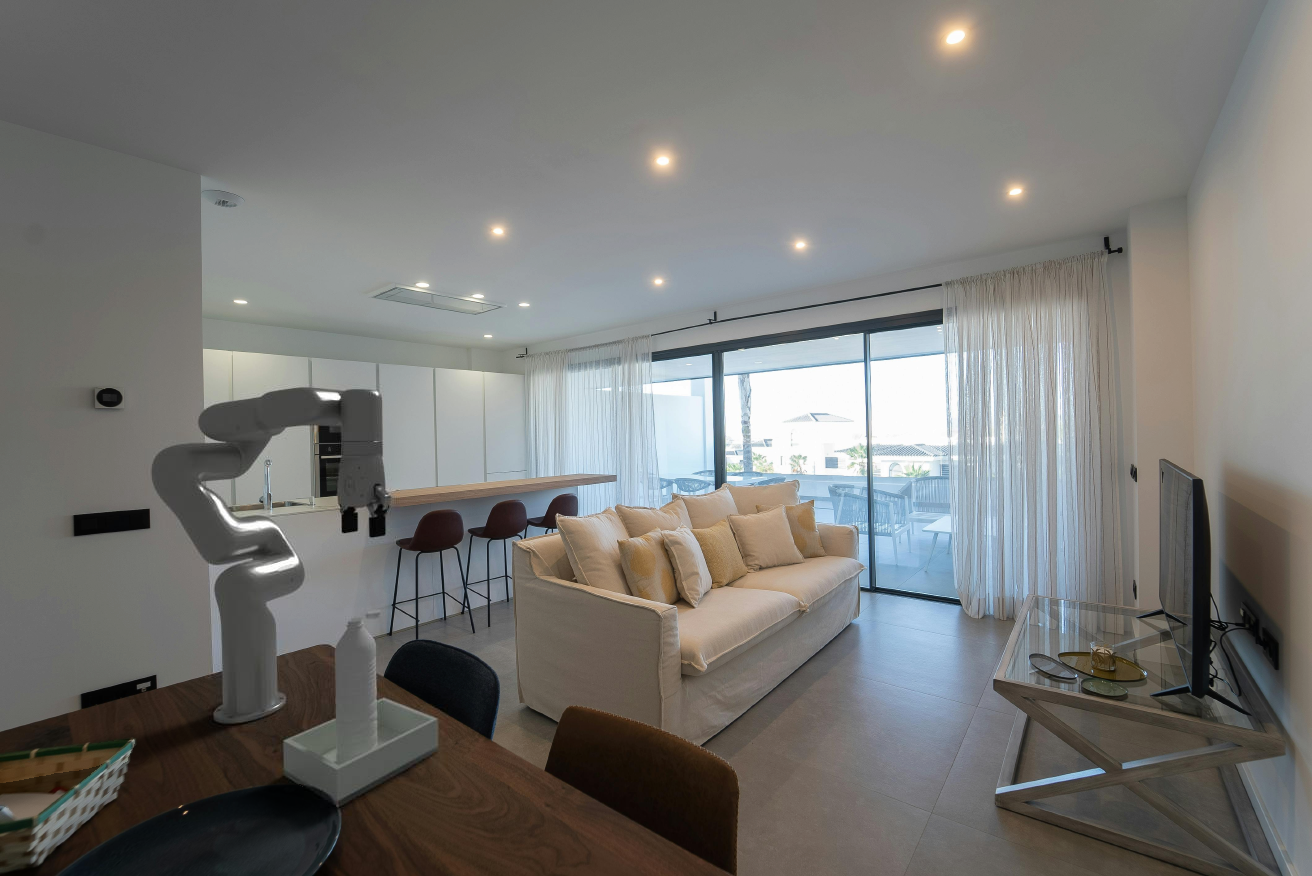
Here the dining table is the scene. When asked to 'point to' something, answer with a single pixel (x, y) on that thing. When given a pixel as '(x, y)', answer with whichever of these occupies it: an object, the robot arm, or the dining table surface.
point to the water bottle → (355, 691)
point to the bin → (399, 748)
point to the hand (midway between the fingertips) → (363, 534)
